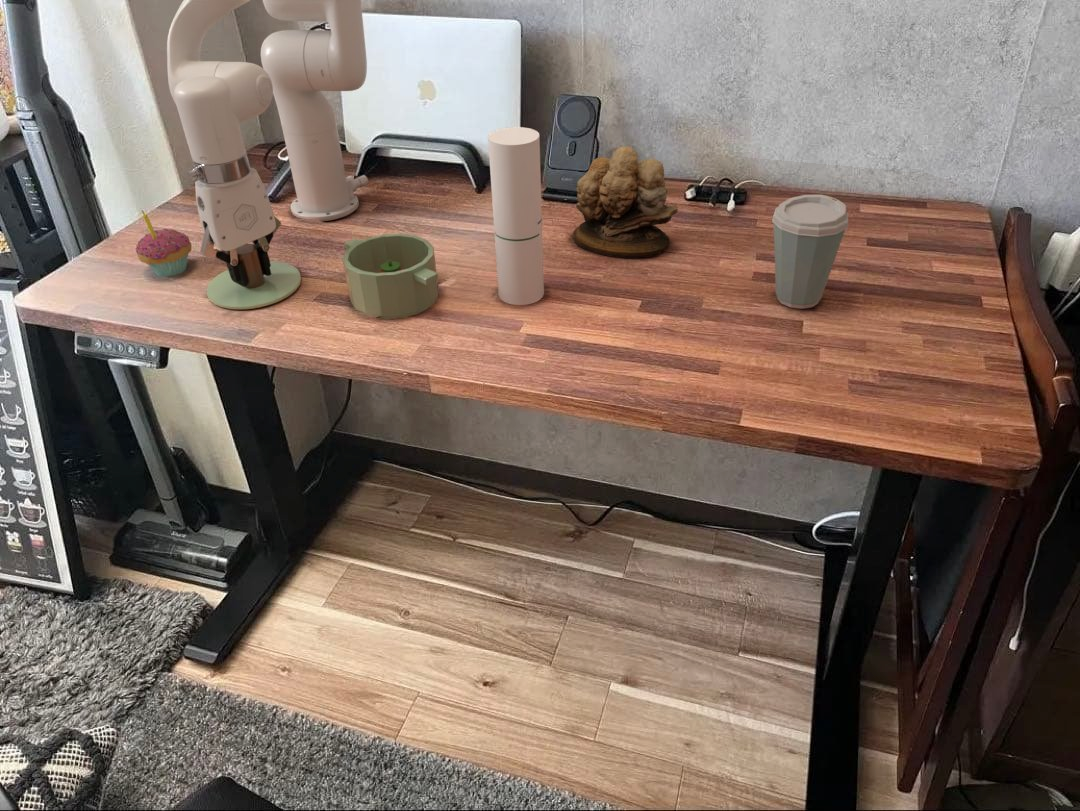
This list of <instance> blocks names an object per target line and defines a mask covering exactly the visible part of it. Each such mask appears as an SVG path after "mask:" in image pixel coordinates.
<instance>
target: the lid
mask: <svg viewBox="0 0 1080 811" xmlns="http://www.w3.org/2000/svg"><path fill="white" fill-rule="evenodd" d="M237 255H238V261H239V262H240V263H242V264H243V267H244V271H245V275H246V278H247V282H248V285H247V286H246V287H243V286H241V285H239V284H237V283H235V282H234V281H232V279H231V277H230V274H229V270H228V269H226V270H223V271H222V272H220V273H219V274H217V275H216V276H215V277H214V278H212V279H211V281H210V282H209V283H208V285H207V287H206V296H207V298H208V300H209V301H210V302H211V303H212V304H214V305H215V306H218V307H221V308H223V309H229V310H251V309H257V308H262V307H266V306H270V305H274V304H276V303H278V302H281V301H283V300H284V299H287V298H288V297H290V296H291V295H292V294H294V293H295V292H296V291H297V290H298V288H299V287H300V286H301V282H302V276H301V273H300V271H299V270H298V268H297V267H295V266H294V265H292V264H290V263H287V262H284V261H283V262H281V261H275V260H270V264H271V267H270V270H271V275H270V276H266V275H264V273H263V269H262V265H261V261H260V258H259V254H258V250H257V246H256V245H254V244H253V243H248V244H245V245H243V246H240V247H238V248H237Z"/></svg>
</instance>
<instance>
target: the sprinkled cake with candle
mask: <svg viewBox="0 0 1080 811" xmlns="http://www.w3.org/2000/svg"><path fill="white" fill-rule="evenodd" d="M141 212H142V218H143V220H144V222H145V224H146V226H147V228H148V230H149V233H147V234H145V235H144V236H143V237H141V239H140V240H138V242H137V244H136V246H135V252H136V255H137V258H138V260H139V261H140V263H141V262H142V263H144V264H146V265H148V266H149V267H150V268H151V270H152V271H153V272H154V274H155V275H156V276H158V277H162V278H169V277H174V276H177V275H180V274H182V273H184V272H185V271H186V270H187V268H188V263H187V262H188V257H189V254H190V252H192V242H191V241H190V238H189V236H188V235H186V234H185V233H182V232H180V231H177V230H175V229H169V228H163V229H157V230H155V229H154V227H153V224H152V223H151V220H150V218H149V216H148V214H147V213H146V212H144V210H143V209H141Z"/></svg>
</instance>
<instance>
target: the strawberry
mask: <svg viewBox="0 0 1080 811" xmlns="http://www.w3.org/2000/svg"><path fill="white" fill-rule="evenodd" d="M400 270H403V269H402V268H401V266H400V263H399V262H396V261H391V260H388V262H385V263H383V264H382V265H381V271H380V272H379V273H387V272H396V271H400Z"/></svg>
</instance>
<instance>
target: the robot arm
mask: <svg viewBox="0 0 1080 811" xmlns="http://www.w3.org/2000/svg"><path fill="white" fill-rule="evenodd" d="M251 1H252V0H183V1H182V2H181V3H180V5H179V7H178V9H177V11H176V13H175V15H174V17H173V19H172V21H171V24H170V26H169V29H168V34H167V40H166V62H167V64H166V66H167V67H166V68H167V70H166V71H167V81H168V89H169V92H170V95H171V98H172V100H173V102H174V104H175V105H176V109H177V113H178V116H179V119H180V122H181V126H182V130H183V134H184V136H185V140H186V143H187V146H188V150H189V153H190V157H191V160H192V161H191V165H192V168H191V169H190V170H187V172H186V174H187V177H188V178H189V180H190V181H194V180H196V181H195V182H194V190H195V202H196V208H197V214H198V218H199V221H200V222H199V223H200V227H201V230H202V233H203V238H202V242H201V247H200V250H199V254H200V255H202V256H204V257H205V258H210V259H218V260H220V261H223V262H225V263H226V267H227V270H229V274H230V277H231V279H232V281H234V282H235V283H237V284H239V285H241V286H243V287H246V286H247V285H248V282H247V278H246V275H245V271H244V267H243V264H242V263H240V262H239V261H238V255H237V248H238V247H240V246H243V245H245V244H254V245H256V246H257V250H258V254H259V258H260V261H261V265H262V269H263V273H264V275H266V276H270V275H271V270H270V267H271V264H270V261H271V260H270V256H269V253H268V252H269V251H270V250H271V249H270V248H271V247H270V244H271V242H272V240H273V238H274V234H275V233H277V231H278V229H279V228H281V225H282V222H281V221H280V219H278V217H276V216H275V214H274V210H273V206H272V204H271V201H270V199H269V196H268V192H267V190H266V188H265V185H264V183H263V181H262V179H261V176H260V175H259V172H258V171H257V169H256V168H254V167H251V165H250V162H249V161H250V160H249V158H248V153H247V150H246V146H245V142H244V137H243V134H242V129H241V126H240V125H241V123H243V122H245V121H247V120H250V119H253V118H256V117H258V116H260V115H261V114H263V113H264V112H265V111H266V110H267V109H268V108H269V106H270V104H271V103H272V100H273V98H274V101H275V106H276V108H277V112H278V116H279V120H280V124H281V125H280V126H281V129H282V133H283V138H284V144H285V148H286V153H287V158H288V162H289V167H290V172H291V175H292V179H293V180H292V181H293V185H294V190H295V194H296V198H295V199H294V200H292V202H291V203H290V206H289V207H290V211H291V214H292V215H293V216H295V217H296V218H298V219H302V220H308V221H319V222H329V221H335V220H338V219H341V218H345V217H347V216H349V215H350V214H352V213H354V212H355V211H356V210H357V209H358V207H359V203H360V202H359V197H358V196H357V194H355V192H356V191H357V189H360V188H363V187H366V186H368V185H369V179H368V177H367V176H366V175H365V174H363V175H360V176H357V177H355V178H354V176H353V175H348V176H347V175H346V171H345V165H344V160H343V153H342V147H341V142H340V136H339V132H338V131H339V130H338V125H337V118H336V114H335V111H334V108H333V106H332V104H331V103H330V102H329V100H328V98H327V97H326V96H325V94H324V93H323V92H352V91H357V90H359V89H360V88H362V87H363V85H364V84H365V81H366V79H367V73H368V70H367V69H368V61H367V51H366V50H367V48H366V40H365V29H364V19H363V8H362V0H262V4H263V6H264V9H265V11H266V12H267V14H268V15H269V16H270V17H272V18H273V19H276V20H279V21H288V22H321V23H323V22H326V23H327V24H328V26H329V29H330V30H315V29H283V30H278V31H274V32H273V33H270V34H268V35H267V37H265V38H264V39H263V42H262V43H261V47H260V61H261V66H260V65H258V64H256V63H253V62H247V61H223V60H201V49H202V45H203V44H202V43H203V41H204V39H205V37H206V35H207V33H208V32H209V30H210V29H211V27H212V26H213V25H214V24H215V23H216V22H218V21H219V20H220V19H221V18H223V17H224V16H226V15H227V14H229V13H231V12H232V11H234V10H236V9H237V8H239V7H241V6H244V5H245V4H247V3H249V2H251ZM215 246H216V248H214V247H215Z"/></svg>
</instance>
